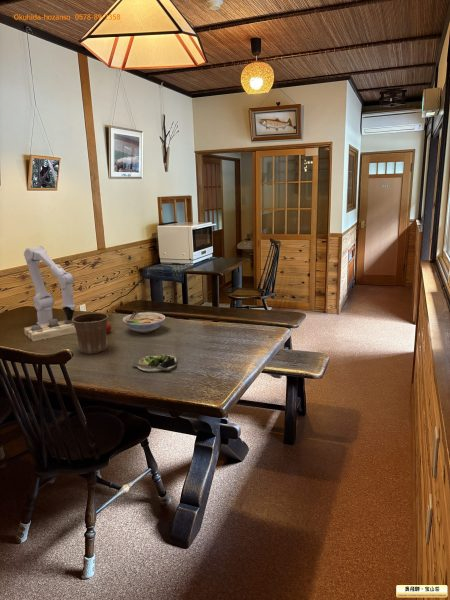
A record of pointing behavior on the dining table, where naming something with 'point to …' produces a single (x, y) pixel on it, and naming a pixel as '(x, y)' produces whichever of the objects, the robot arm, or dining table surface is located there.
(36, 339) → the button board
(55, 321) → the button
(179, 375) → the dining table surface
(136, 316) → the ramen bowl
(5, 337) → the dining table surface
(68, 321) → the button
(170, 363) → the salad plate
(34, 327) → the button
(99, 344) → the plant pot
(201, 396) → the dining table surface
